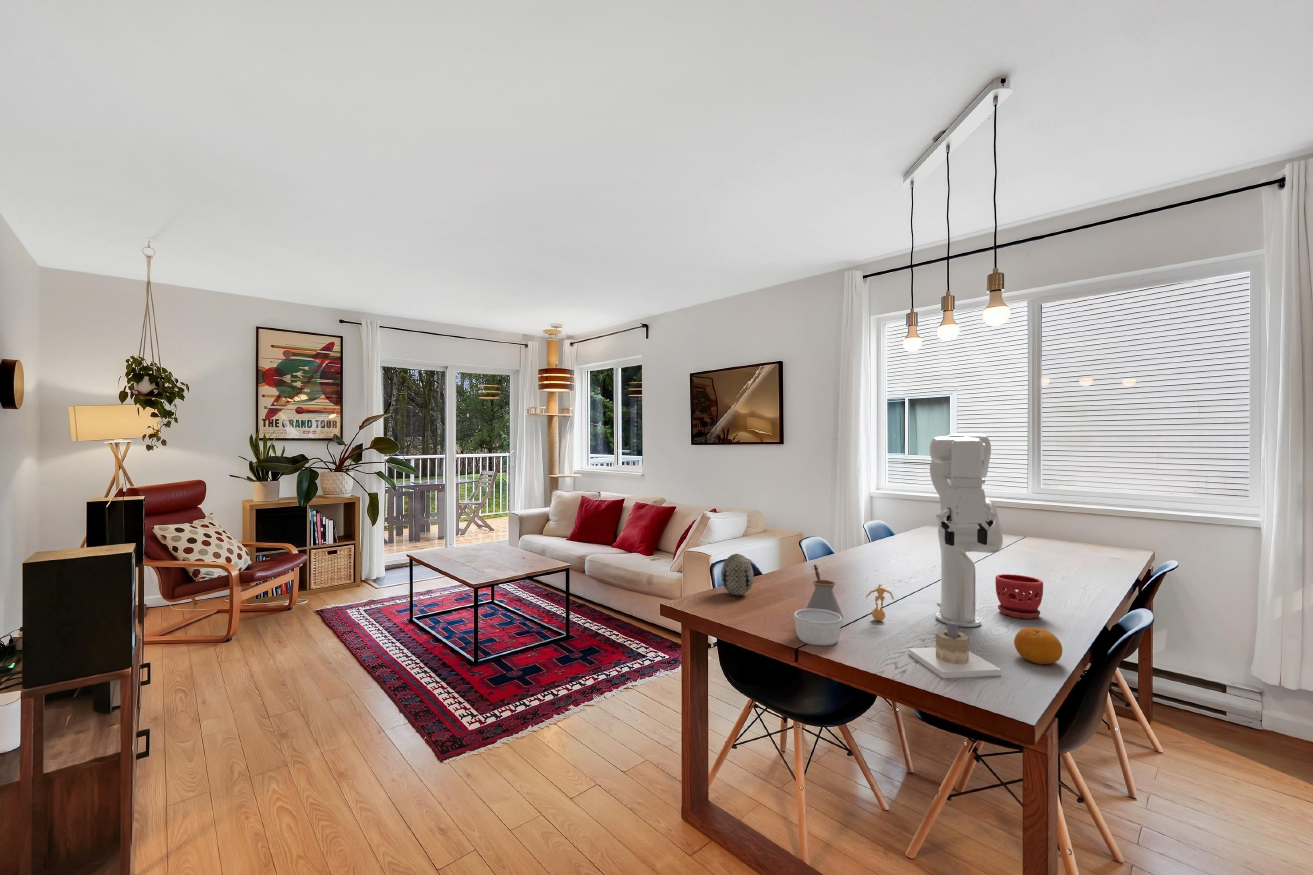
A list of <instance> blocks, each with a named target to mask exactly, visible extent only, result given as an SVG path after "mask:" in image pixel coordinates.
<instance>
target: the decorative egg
mask: <svg viewBox="0 0 1313 875" xmlns="http://www.w3.org/2000/svg"><path fill="white" fill-rule="evenodd" d="M720 572H721V574H720V576H721V577H720V578H721V583H722V586H723V588H724V590H726V592H728V594H731V595H733V596H743V595H745V594H746V593H748V592H749V591H750V590H751V588H752V586H753V584H754V578H755V577H754V569H753V567H752V564H751V562H750V560H749V559H748V558H747V557H746V556H744V554H740V553H734V554H731V555H729V556H728V557H727V558H726V559H725V561H724V563H723V564H722V569H721V571H720Z"/></svg>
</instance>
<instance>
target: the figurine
mask: <svg viewBox="0 0 1313 875" xmlns="http://www.w3.org/2000/svg"><path fill="white" fill-rule="evenodd" d="M875 592H876V593H877V595H876V596H875V599H874V601H875V602H874V603H875V607H874V608H873V610H871V616H872V619H874V620H875V621H878V622H882V621H884V620H885V619H886V612H885V610H884V609H883V607H884V603H883V602H884V601H885V600H886V599H885V597H886V596H885V595H884V594H885V593H887V594H889V595H890V597H891V600H892V601H894V599H895V598H894V596H893V594H892V592H891V591H890V590H888V589H886V588H884V587H883V586H882V584H881V583H879V584H878V586H877V588H875V589H872V590H871V591H869V593H868V594H867V595H866V596H865V599H867V598H868V597H869V596H871V594H872V593H875ZM879 601H880V602H881V603H880V607H879V605H878V602H879Z"/></svg>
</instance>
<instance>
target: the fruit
mask: <svg viewBox="0 0 1313 875" xmlns="http://www.w3.org/2000/svg"><path fill="white" fill-rule="evenodd" d="M1013 639H1014V640H1013V645H1014V648H1015V650H1016V652H1017V653H1018V654H1019V656H1021V657H1022V658H1023V659H1025V660H1026V661H1029V662H1031V663H1033V664H1037V665H1050V664H1054V663H1055V664H1056V663H1057V662H1058V661H1059V660H1060V659H1061V658H1062V656H1063V645H1062V643H1061V641H1060V639H1059V638H1058V637H1057V636H1056V635H1054V634H1053V633H1052V632H1051V631H1048V630H1047V629H1042V628H1039V627H1024V628H1022V629H1020V630H1019V631H1018V632H1017V633H1016V634H1015V636H1014V638H1013Z"/></svg>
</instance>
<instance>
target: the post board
mask: <svg viewBox="0 0 1313 875" xmlns="http://www.w3.org/2000/svg"><path fill="white" fill-rule="evenodd" d="M946 630H947V637H952V638H958V632H959V626H958V623H955V622H947V625H946ZM907 654H908V655H909V656H910V657H911V658H913V659H915V660H916V661H917V662H919V663H920V664H921V665H922V666H925V667H926V668H927V669H928V670H930V671H932V672H933V673H935V674H936V675H938V676H939V677H940V678H942V679H959V678H981V677H996V676H997V677H998V676H1002V669H1001V668H999V667H997V666H996V665H994V664H992V663H991V662H989V661H987V660H985V659H984V658H982V657H980V656H978V655H977V654H975V653H973V652H972V651H970V650H969V661H968V662H967V664H952V663H948V662H944V661H942V660H940V659H939V658H937V657H936V646H935V647H914V648H913V647H912V648H908V649H907Z"/></svg>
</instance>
